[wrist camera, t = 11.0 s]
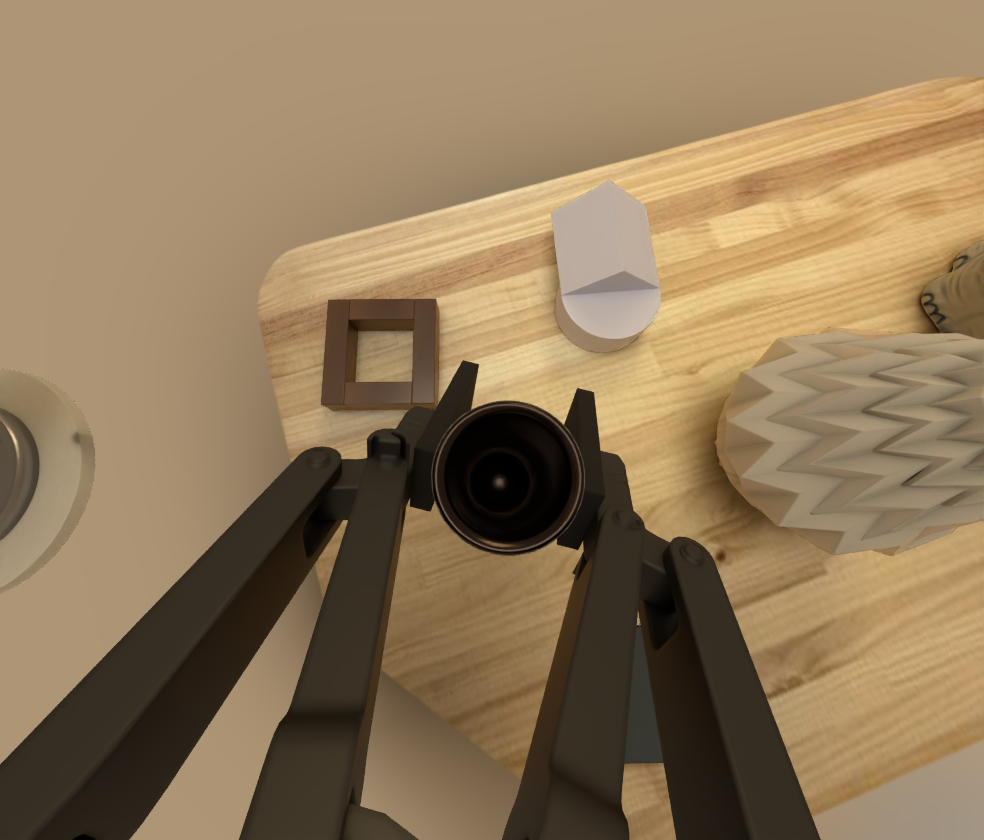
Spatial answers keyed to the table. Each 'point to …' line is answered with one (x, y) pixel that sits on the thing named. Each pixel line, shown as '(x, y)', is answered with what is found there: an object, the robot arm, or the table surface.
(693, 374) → the table surface
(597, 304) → the wedge on round base
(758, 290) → the table surface
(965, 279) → the elephant cookie jar
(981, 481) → the vase
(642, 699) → the mat
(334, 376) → the brown square frame
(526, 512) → the beige hollow cylinder
